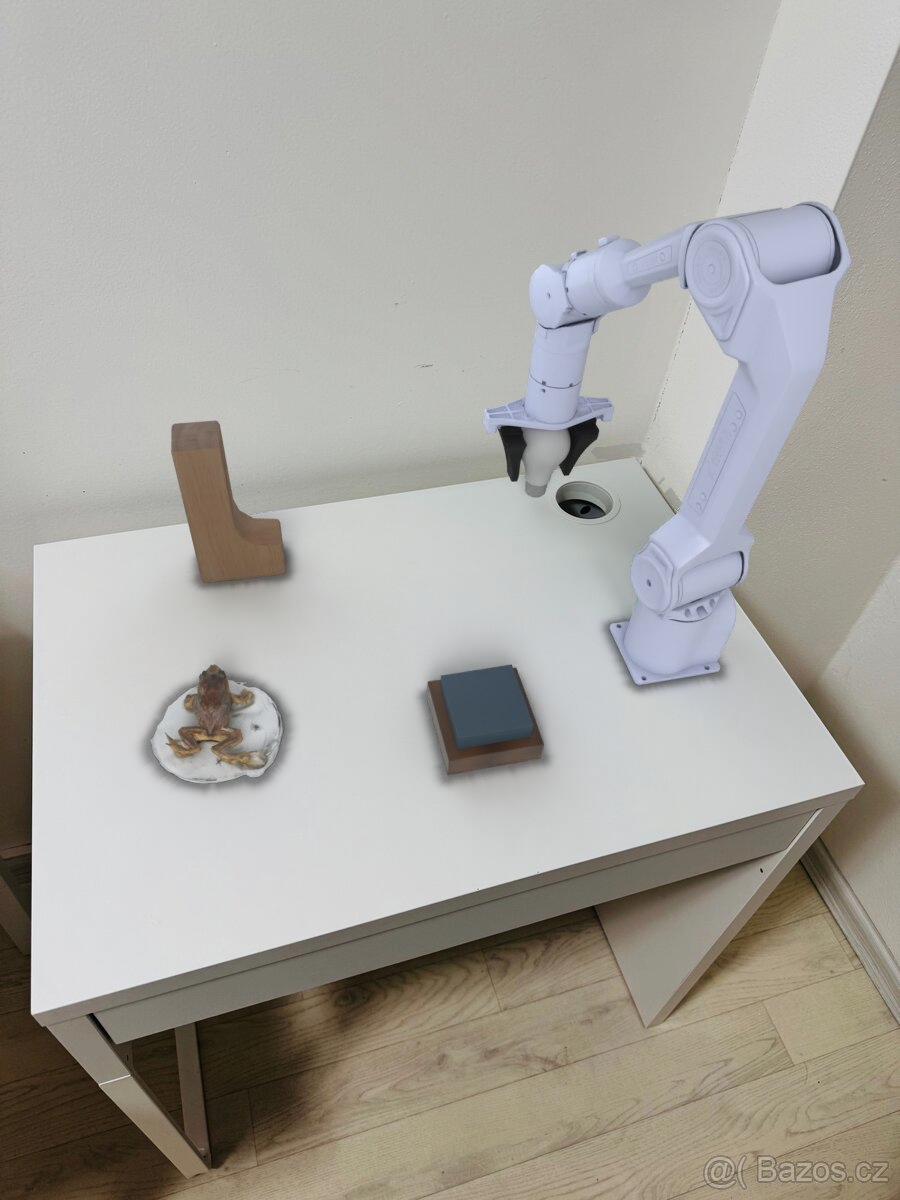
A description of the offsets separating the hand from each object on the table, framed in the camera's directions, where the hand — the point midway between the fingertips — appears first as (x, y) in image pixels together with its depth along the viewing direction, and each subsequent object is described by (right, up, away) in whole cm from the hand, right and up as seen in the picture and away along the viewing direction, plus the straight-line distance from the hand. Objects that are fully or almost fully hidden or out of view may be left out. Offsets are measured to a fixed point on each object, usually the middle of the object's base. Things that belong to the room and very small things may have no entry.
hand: (538, 473), depth 99 cm
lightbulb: (0, -2, +3) cm, 4 cm away
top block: (-7, -25, -20) cm, 33 cm away
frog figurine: (-32, -27, -20) cm, 47 cm away
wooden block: (-33, -11, -6) cm, 36 cm away
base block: (-7, -27, -18) cm, 34 cm away
